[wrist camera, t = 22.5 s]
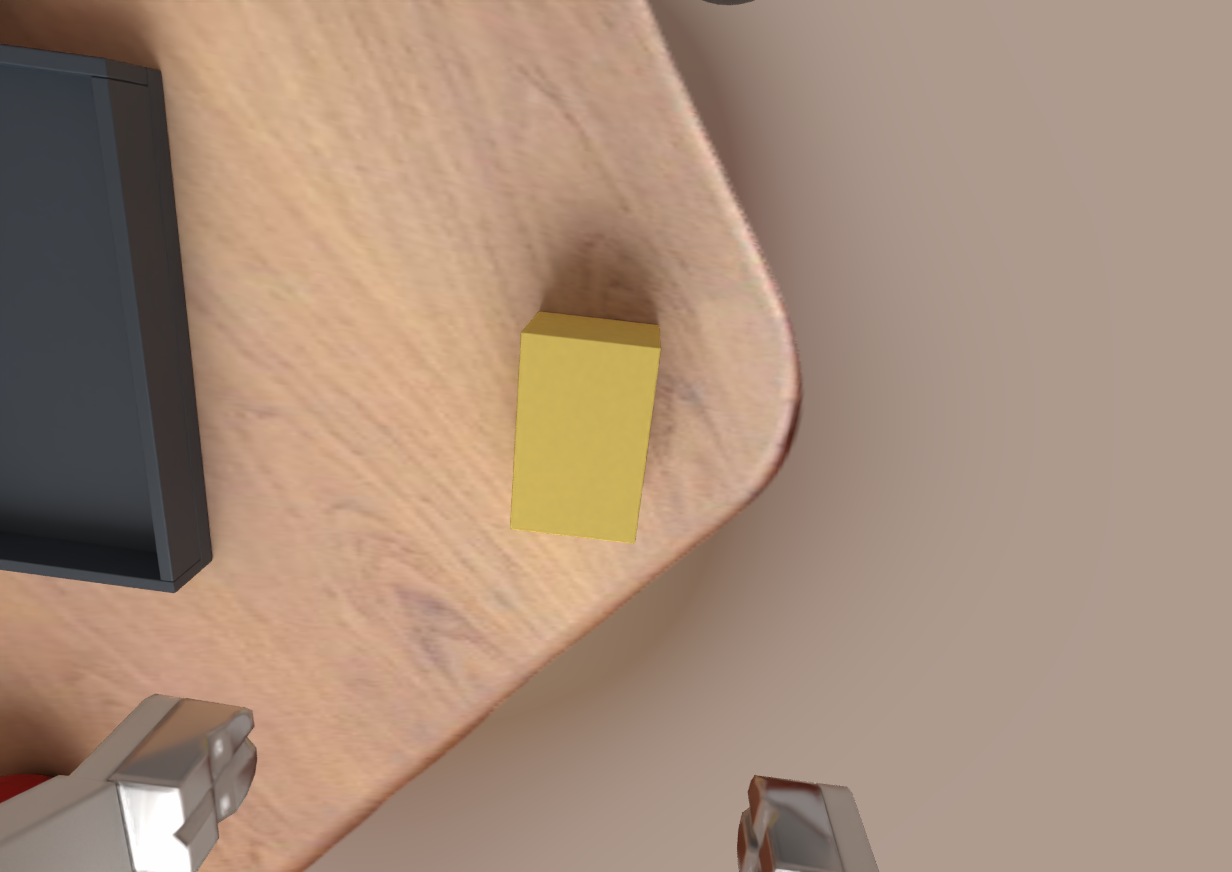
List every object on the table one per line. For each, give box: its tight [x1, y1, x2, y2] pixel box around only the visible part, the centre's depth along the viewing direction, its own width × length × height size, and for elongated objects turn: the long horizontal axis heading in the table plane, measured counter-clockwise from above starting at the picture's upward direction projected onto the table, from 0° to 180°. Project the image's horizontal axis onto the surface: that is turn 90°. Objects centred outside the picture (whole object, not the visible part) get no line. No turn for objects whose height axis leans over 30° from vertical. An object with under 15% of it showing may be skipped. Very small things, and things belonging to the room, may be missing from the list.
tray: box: [0, 44, 212, 593], centre depth 27 cm, size 21×12×3 cm, turn 173°
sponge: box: [510, 311, 661, 543], centre depth 27 cm, size 8×5×4 cm, turn 174°
